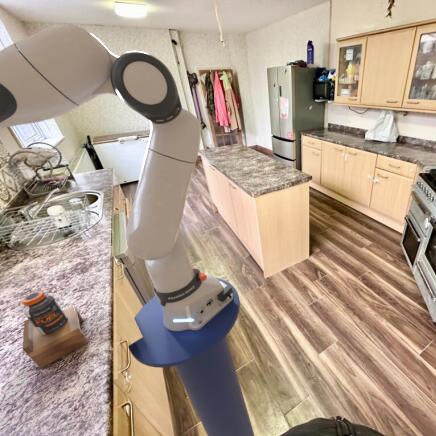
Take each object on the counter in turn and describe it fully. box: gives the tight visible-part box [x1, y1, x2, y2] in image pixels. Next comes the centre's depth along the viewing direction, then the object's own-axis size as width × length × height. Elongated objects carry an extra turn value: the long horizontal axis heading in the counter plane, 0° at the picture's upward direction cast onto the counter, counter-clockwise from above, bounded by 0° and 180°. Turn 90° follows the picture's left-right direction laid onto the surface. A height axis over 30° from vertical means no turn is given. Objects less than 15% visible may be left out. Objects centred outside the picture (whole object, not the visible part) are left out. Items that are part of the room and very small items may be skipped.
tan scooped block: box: [22, 304, 89, 369], centre depth 65 cm, size 10×12×8 cm
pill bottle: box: [21, 290, 68, 335], centre depth 62 cm, size 6×6×11 cm
